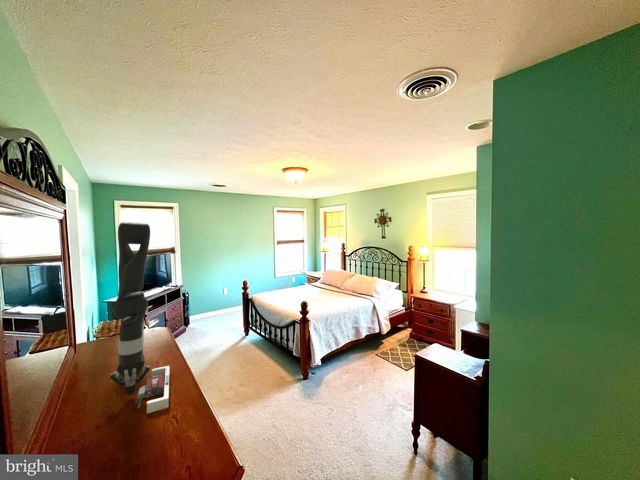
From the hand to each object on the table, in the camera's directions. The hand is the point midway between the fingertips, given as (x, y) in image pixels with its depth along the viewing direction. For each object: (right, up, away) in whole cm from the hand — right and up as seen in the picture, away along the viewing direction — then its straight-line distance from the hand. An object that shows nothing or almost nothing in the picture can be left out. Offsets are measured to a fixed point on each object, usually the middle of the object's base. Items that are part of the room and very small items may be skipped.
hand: (130, 394), depth 97 cm
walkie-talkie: (+6, -2, +3) cm, 7 cm away
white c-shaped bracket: (+7, -2, +4) cm, 9 cm away
